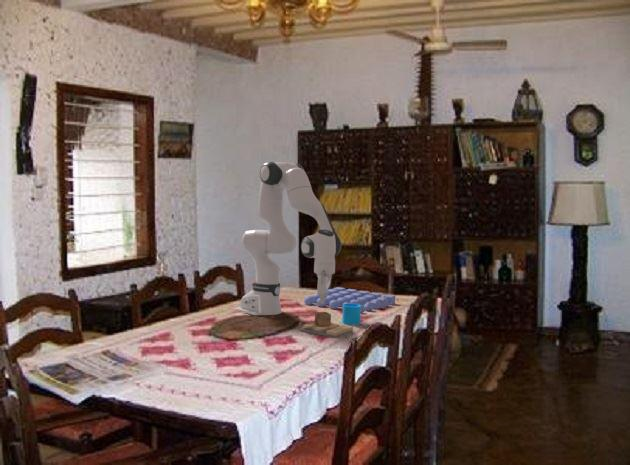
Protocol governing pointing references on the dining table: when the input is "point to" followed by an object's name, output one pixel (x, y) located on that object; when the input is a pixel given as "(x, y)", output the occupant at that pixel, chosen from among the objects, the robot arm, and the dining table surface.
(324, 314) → the block
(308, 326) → the tan flat slab
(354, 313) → the mug
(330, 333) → the underlay
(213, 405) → the dining table surface
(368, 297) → the blue flat bumpy slab
